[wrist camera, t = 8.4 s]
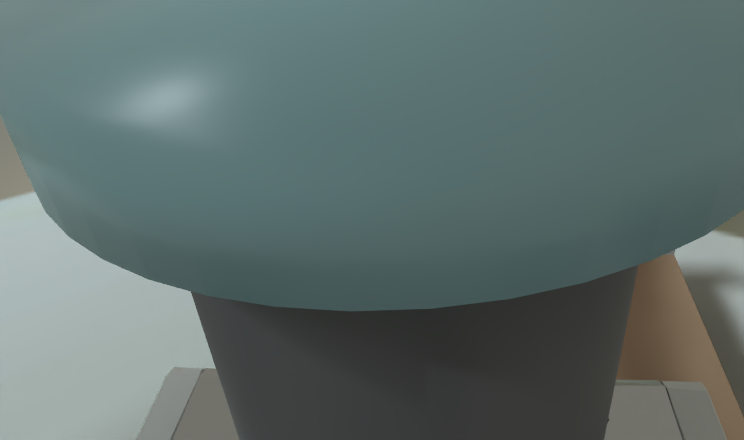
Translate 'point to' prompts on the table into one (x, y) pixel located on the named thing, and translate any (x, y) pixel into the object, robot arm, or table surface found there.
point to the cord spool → (387, 189)
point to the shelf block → (674, 340)
